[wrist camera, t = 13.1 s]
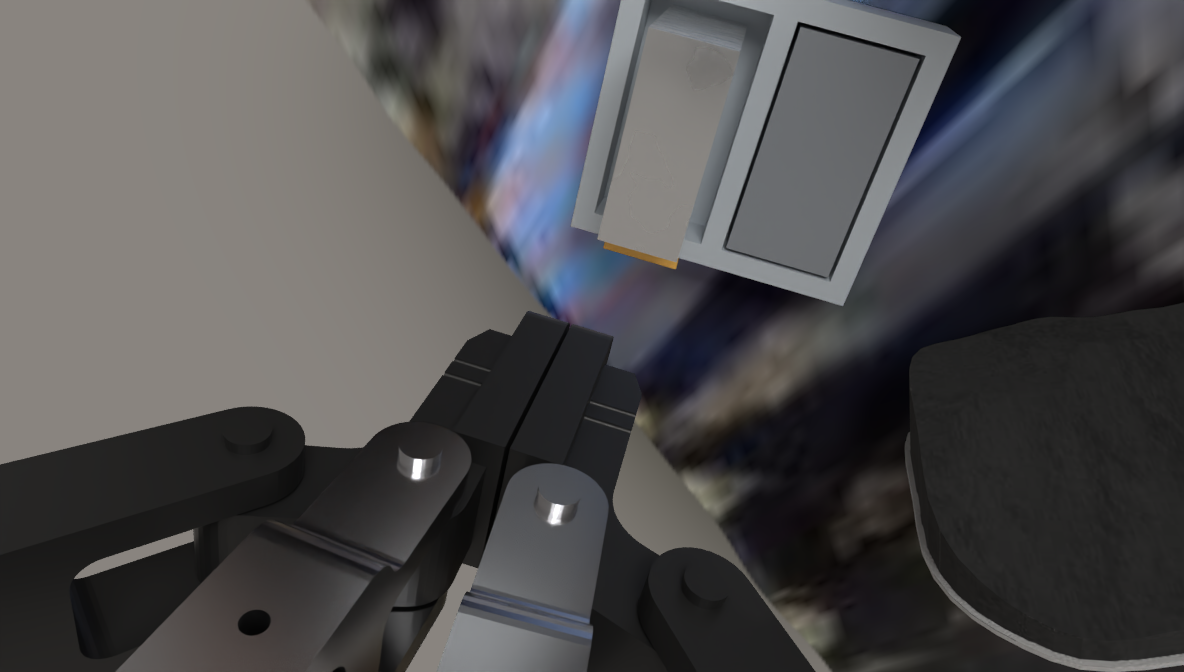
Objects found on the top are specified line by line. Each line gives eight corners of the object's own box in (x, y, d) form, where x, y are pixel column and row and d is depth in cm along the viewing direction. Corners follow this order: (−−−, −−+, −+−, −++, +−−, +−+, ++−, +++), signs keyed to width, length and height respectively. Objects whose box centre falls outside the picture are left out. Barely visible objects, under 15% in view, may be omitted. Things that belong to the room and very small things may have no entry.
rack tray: (643, -55, 29) (632, -51, 26) (946, 26, 28) (961, 37, 26) (581, 217, 34) (567, 239, 32) (833, 290, 33) (836, 319, 31)
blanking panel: (672, 4, 29) (648, 26, 24) (747, 24, 28) (740, 52, 23) (626, 185, 32) (597, 239, 27) (693, 204, 32) (676, 262, 27)
